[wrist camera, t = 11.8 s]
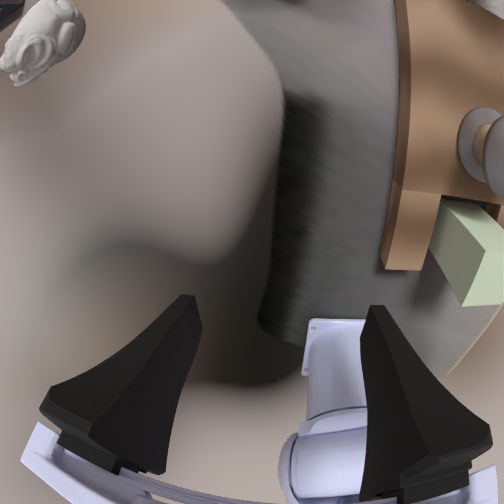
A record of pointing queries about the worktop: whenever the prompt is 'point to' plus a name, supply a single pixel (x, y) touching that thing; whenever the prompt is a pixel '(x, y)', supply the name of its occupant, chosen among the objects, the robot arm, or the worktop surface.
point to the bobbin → (483, 147)
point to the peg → (469, 252)
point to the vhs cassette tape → (9, 7)
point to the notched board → (439, 117)
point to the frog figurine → (42, 40)
